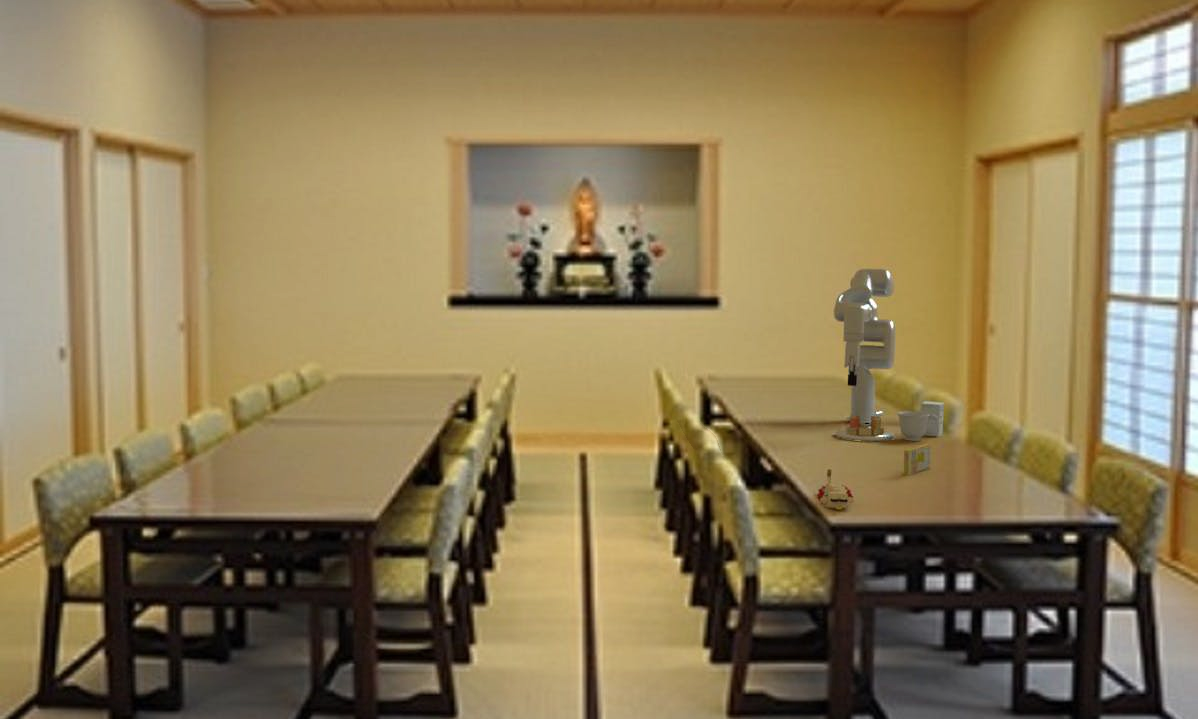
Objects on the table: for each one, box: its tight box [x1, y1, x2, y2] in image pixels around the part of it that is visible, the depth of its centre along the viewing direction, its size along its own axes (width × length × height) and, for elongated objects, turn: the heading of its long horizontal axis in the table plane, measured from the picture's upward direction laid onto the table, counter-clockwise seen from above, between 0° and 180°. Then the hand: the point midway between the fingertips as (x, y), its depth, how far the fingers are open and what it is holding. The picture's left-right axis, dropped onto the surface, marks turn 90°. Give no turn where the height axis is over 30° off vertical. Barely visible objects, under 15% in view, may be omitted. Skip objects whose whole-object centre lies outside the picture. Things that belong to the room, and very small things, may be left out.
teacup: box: [897, 410, 938, 442], centre depth 469 cm, size 12×15×10 cm
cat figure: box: [816, 468, 855, 510], centre depth 357 cm, size 10×9×25 cm
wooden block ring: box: [845, 414, 885, 436], centre depth 474 cm, size 14×14×6 cm
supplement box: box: [920, 400, 945, 438], centre depth 482 cm, size 7×7×13 cm
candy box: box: [903, 443, 931, 476], centre depth 406 cm, size 16×2×8 cm, turn 141°
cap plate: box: [835, 425, 896, 442], centre depth 475 cm, size 22×22×4 cm
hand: (852, 385), depth 474 cm, fingers closed
